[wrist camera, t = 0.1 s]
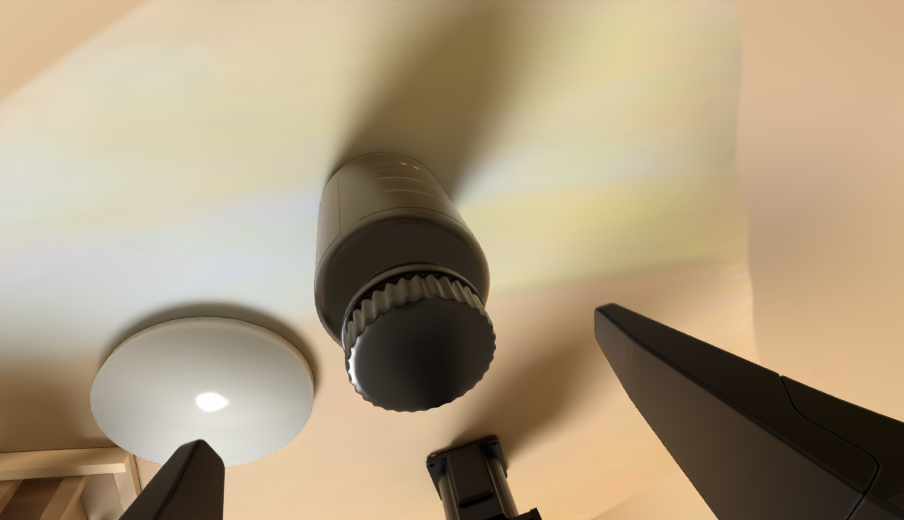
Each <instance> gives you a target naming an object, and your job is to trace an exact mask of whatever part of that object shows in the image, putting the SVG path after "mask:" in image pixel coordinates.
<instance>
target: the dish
mask: <svg viewBox="0 0 904 520" xmlns="http://www.w3.org/2000/svg"><path fill="white" fill-rule="evenodd" d="M313 395H314V379H313V375H312V371H311V369H310V367H309V364H308V362H307V361H306V359H305V358H304V356H303V355H302V354H301V353H300V352H299V351H298V349H297V348H296V347H295V346H293V345H292V344H291V343H290V342H288V341H287V340H286V339H284V338H283V337H281V336H280V335H278V334H276V333H274V332H272V331H270V330H268V329H266V328H264V327H261V326H258V325H255V324H252V323H249V322H245V321H241V320H237V319H230V318H223V317H188V318H181V319H174V320H170V321H166V322H162V323H159V324H156V325H153V326H150V327H148V328H145V329H143V330H141V331H139V332H137V333H135V334H133V335H132V336H131V337H129V338H128V339H126V340H125V341H123V342H122V343H121V344H120V345H119V346H118V347H117V348H116V349H115V350H114V351H113V352H112V353H111V355H110V356H109V357H108V359H107V360H106V362H105V363H104V365H103V366H102V367H101V369H100V370H99V372H98V373H97V375H96V377H95V379H94V381H93V383H92V387H91V391H90V407H91V412H92V415H93V417H94V419H95V422H96V423H97V425H98V426H99V428H100V429H101V430H102V432H103V433H104V434H105V435H106V436H107V437H108V438H109V439H110V440H112V441H113V442H114V443H115V444H117V445H118V446H119V447H121V448H123V449H124V450H126V451H128V452H129V453H132V454H134V455H136V456H138V457H140V458H143V459H146V460H149V461H152V462H155V463H159V464H163V465H164V464H165V463H166V462H167V460H168V459H169V458H170V457H171V456H172V454H173V453H174V452H175V451H176V450H177V449H178V447H180V446H181V445H183V444H185V443H188V442H191V441H194V440H197V439H203V440H205V441H206V442H207V443H208V444H209V445H210V446H211V447H212V448H213V449H214V450H215V452H216V453H217V454H218V455H219V456H220V457H221V458H222V460H223V462H224V466H225V467H231V466H236V465H240V464H245V463H248V462H252V461H255V460H258V459H260V458H263V457H265V456H267V455H269V454H272V453H274V452H276V451H277V450H279V449H280V448H282V447H284V446H285V445H286V444H288V443H289V442H290V441H292V440H293V439H294V438H295V437H296V436H297V435H298V434H299V433H300V432H301V430H302V429H303V428H304V426H305V425H306V423H307V421H308V419H309V417H310V414H311V411H312V406H313Z"/></svg>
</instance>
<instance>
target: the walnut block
mask: <svg viewBox="0 0 904 520" xmlns="http://www.w3.org/2000/svg"><path fill="white" fill-rule="evenodd" d="M61 482H62V481H58V482H44V483H29V484H20V486H19V487H18V489H17V490H16V492H15V493H14V495H13V496H12V498H11V499H10V501H9V502H8V504H7V505H6V506H5V508H4V509H3V511H2V512H1V514H0V520H39V519H40V518H41V516H42V514H43V513H44V511H45V509H46V508H47V506H48V504H49V503H50V501H51V499H52V498H53V496H54V494H55V492H56V491H57V489H58V487H59V486H60V484H61ZM67 520H88V519H87V516H86V512H85V509H84V506H83V503H82V499H81V496H80V497H79V499H78V501H77V502H76V504H75V506H74V508H73V510H72V512H71V514H70V515H69V517H68V519H67Z"/></svg>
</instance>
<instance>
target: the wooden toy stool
mask: <svg viewBox="0 0 904 520" xmlns="http://www.w3.org/2000/svg"><path fill="white" fill-rule="evenodd" d="M90 476H91V474H90V475H75V476H65V477H64V479H63V481H62V482H61V484H60V486H59V487H58V489H57V491H56V492H55V494H54V496H53V498H52V499H51V501H50V503H49V504H48V506H47V508H46V509H45V511H44V513H43V514H42V516H41V518H40V519H39V520H67V519H68V517H69V515H70V514H71V512H72V510H73V508H74V506H75V504H76V502H77V501H78V499H79V497H80V495H81V493H82V491H83V489H84V487H85V486H86V484H87V482H88V480H89V478H90ZM23 480H24V479H16V480H1V481H0V514H1V512H2V511H3V509H4V508H5V506H6V505H7V504H8V502H9V501H10V499H11V498H12V496H13V495H14V493H15V492H16V490H17V489H18V487H19V486H20V484H21V483H22V481H23Z"/></svg>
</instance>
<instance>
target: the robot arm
mask: <svg viewBox="0 0 904 520" xmlns="http://www.w3.org/2000/svg"><path fill="white" fill-rule="evenodd" d="M594 332H595V337H596V340H597V342H598V344H599V346H600V348H601V349H602V351H603V353H604V355H605V356H606V358H607V360H608V362H609V363H610V365H611V367H612V369H613V370H614V372H615V374H616V375H617V377H618V379H619V381H620V382H621V384H622V386H623V388H624V389H625V391H626V393H627V394H628V396H629V398H630V399H631V401H632V402H633V403H634V405H635V406H636V408H637V409H638V410H639V412H640V413H641V415H642V416H643V417H644V419H645V420H646V421H647V423H648V424H649V425H650V427H651V428H652V430H653V431H654V432H655V434H656V435H657V436H658V438H659V439H660V441H661V442H662V443H663V445H664V446H665V447H666V449H667V450H668V451H669V453H670V454H671V456H672V457H673V458H674V460H675V461H676V462H677V464H678V465H679V466H680V468H681V469H682V471H683V472H684V473H685V474H686V476H687V477H688V478H689V480H690V481H691V483H692V484H693V486H694V487H695V488H696V490H697V491H698V492H699V494H700V495H701V496H702V498H703V499H704V501H705V502H706V503H707V505H708V506H709V508H710V509H711V510H712V512H713V513H714V514H715V516H716V517H717V518H718V520H904V422H901V421H898V420H896V419H893V418H890V417H887V416H885V415H882V414H879V413H876V412H873V411H871V410H868V409H865V408H863V407H860V406H858V405H855V404H852V403H849V402H847V401H844V400H841V399H839V398H836V397H834V396H831V395H829V394H826V393H824V392H822V391H819V390H817V389H814V388H812V387H809V386H807V385H804V384H802V383H800V382H797V381H795V380H793V379H790V378H788V377H786V376H783V375H782V376H780V375H779V374H778V373H776V372H774V371H772V370H769V369H767V368H764V367H762V366H760V365H757V364H755V363H753V362H750V361H748V360H746V359H743V358H741V357H739V356H736V355H734V354H732V353H729V352H727V351H725V350H722V349H720V348H718V347H715V346H713V345H711V344H708V343H706V342H704V341H701V340H699V339H697V338H694V337H692V336H690V335H687V334H685V333H683V332H680V331H678V330H676V329H673V328H671V327H669V326H666V325H664V324H662V323H659V322H657V321H655V320H652V319H650V318H648V317H645V316H643V315H641V314H638V313H636V312H634V311H631V310H629V309H627V308H624V307H622V306H620V305H617V304H615V303H608V304H605V305H602V306H599V307H597V308H596V309H595V311H594ZM426 465H427V469H428V471H429V473H430V476H431V478H432V481H433V483H434V485H435V488H436V490H437V492H438V495H439V497H440V499H441V501H442V502H443V507H444V511H445V516H446V520H542V519H541V516H540V514H539V512H538V510H537V508H533V509H531V510H530V511H529V512H527V513H524V514H521V515H519V513H518V511H517V508H516V505H515V502H514V500H513V497H512V494H511V491H510V489H509V486H508V483H507V480H506V478H507V472H506V467H505V463H504V459H503V454H502V450H501V446H500V442H499V439H498V437H497V436H491V437H488V438H485V439H482V440H480V441H477V442H474V443H471V444H468V445H465V446H462V447H460V448H457V449H454V450H451V451H448V452H445V453H442V454H440V455H437V456H434V457H431V458H429V459H427V461H426ZM224 480H225V466H224V462H223V460H222V458H221V457H220V456H219V455H218V454H217V453H216V452H215V450H214V449H213V448H212V447H211V446H210V445H209V444H208V443H207V442H206V441H205V440H203V439H197V440H194V441H191V442H188V443H185V444H183V445H181V446H180V447H178V449H177V450H176V451H175V452H174V453H173V454H172V456H171V457H170V458H169V459H168V460H167V462H166V463H165V464H164V465H163V466H162V468H161V469H160V470H159V471H158V472H157V474H156V475H155V476H154V477H153V478H152V480H151V481H150V482H149V483H148V484H147V486H146V487H145V488H144V489H143V490H142V492H141V493H140V494H139V495H138V496H137V498H136V499H135V500H134V501H133V502H132V504H131V505H130V506H129V507H128V509H127V510H126V511H125V512H124V513H123V515H122V516H121V517H120V518H119V519H118V520H223V504H224Z"/></svg>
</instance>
